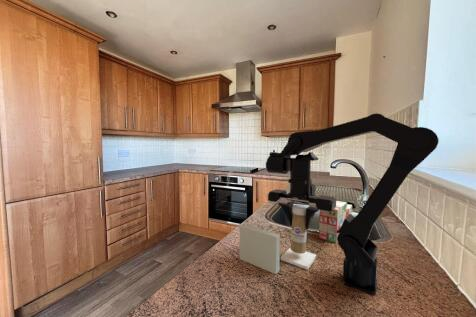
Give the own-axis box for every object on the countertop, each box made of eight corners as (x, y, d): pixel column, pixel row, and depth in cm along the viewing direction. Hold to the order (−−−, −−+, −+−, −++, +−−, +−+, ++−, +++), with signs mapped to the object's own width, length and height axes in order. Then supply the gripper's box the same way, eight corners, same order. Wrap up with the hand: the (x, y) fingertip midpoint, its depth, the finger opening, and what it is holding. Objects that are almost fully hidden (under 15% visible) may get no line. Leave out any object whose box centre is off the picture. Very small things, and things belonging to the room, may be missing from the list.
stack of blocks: (336, 222, 88) (337, 195, 88) (352, 226, 84) (353, 198, 83) (318, 238, 73) (319, 205, 72) (336, 243, 68) (337, 209, 68)
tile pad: (316, 257, 60) (316, 254, 60) (307, 269, 53) (307, 267, 53) (291, 248, 65) (291, 246, 65) (280, 259, 58) (280, 257, 58)
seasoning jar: (290, 252, 57) (292, 207, 56) (290, 245, 62) (292, 203, 61) (306, 255, 56) (309, 209, 55) (305, 247, 61) (308, 205, 60)
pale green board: (279, 270, 53) (279, 234, 53) (276, 274, 51) (276, 237, 51) (243, 255, 60) (243, 224, 60) (239, 258, 59) (239, 226, 58)
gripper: (340, 175, 58) (339, 226, 59) (282, 171, 70) (281, 214, 70) (332, 179, 50) (331, 240, 50) (267, 174, 61) (266, 223, 62)
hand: (299, 227), depth 58 cm, fingers closed on seasoning jar, 4 cm apart
